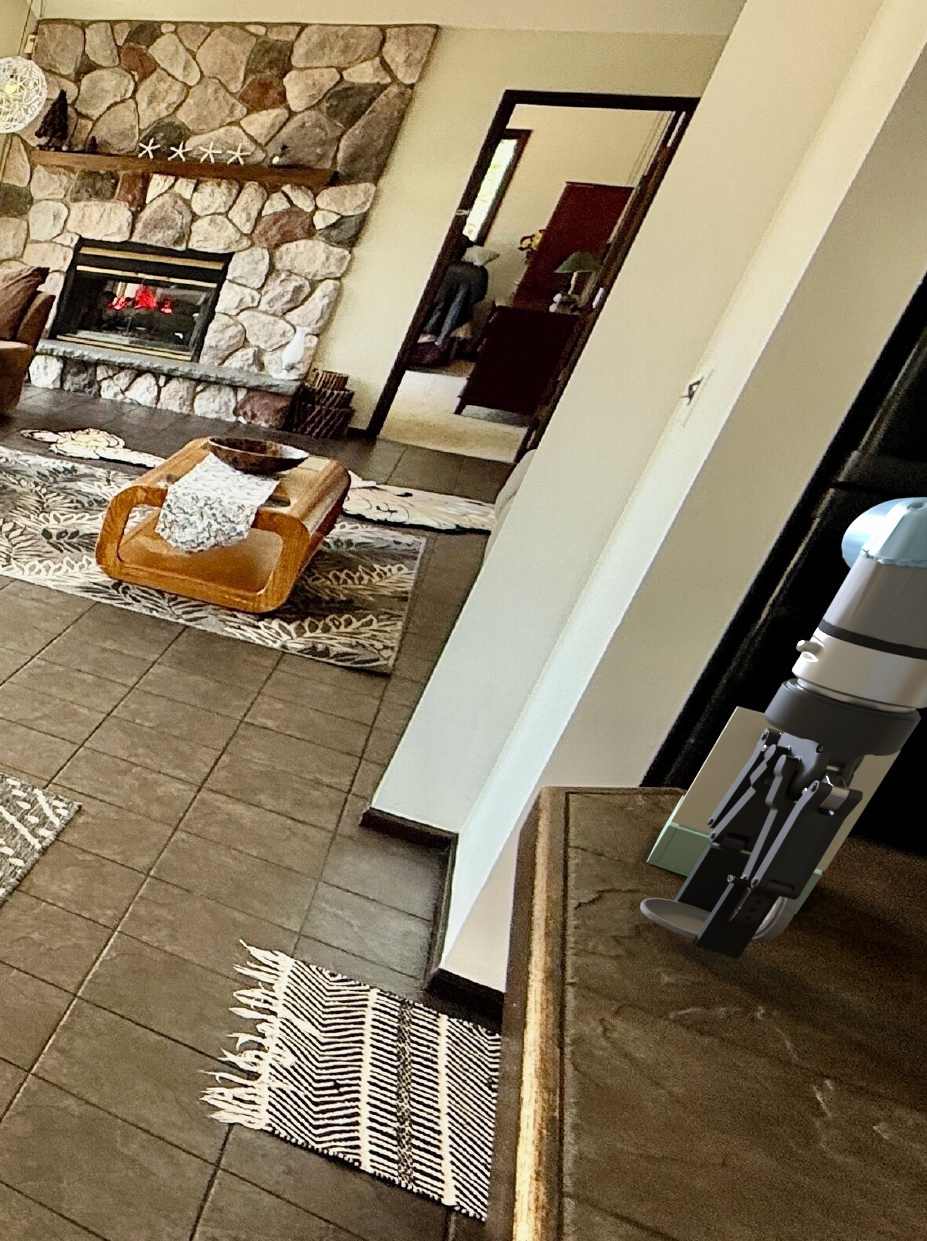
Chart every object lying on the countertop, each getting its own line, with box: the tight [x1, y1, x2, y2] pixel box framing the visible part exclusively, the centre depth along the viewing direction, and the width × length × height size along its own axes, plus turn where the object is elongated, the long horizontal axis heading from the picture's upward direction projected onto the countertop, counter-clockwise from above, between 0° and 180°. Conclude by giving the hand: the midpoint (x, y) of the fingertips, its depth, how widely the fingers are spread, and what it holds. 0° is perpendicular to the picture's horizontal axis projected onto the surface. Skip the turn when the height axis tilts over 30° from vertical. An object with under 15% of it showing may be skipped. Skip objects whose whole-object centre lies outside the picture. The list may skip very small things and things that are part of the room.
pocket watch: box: [639, 896, 800, 942], centre depth 100 cm, size 8×8×10 cm
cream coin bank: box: [671, 706, 901, 872], centre depth 107 cm, size 12×10×9 cm
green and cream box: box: [646, 795, 823, 915], centre depth 116 cm, size 11×10×5 cm
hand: (703, 930), depth 102 cm, fingers closed on pocket watch, 7 cm apart
